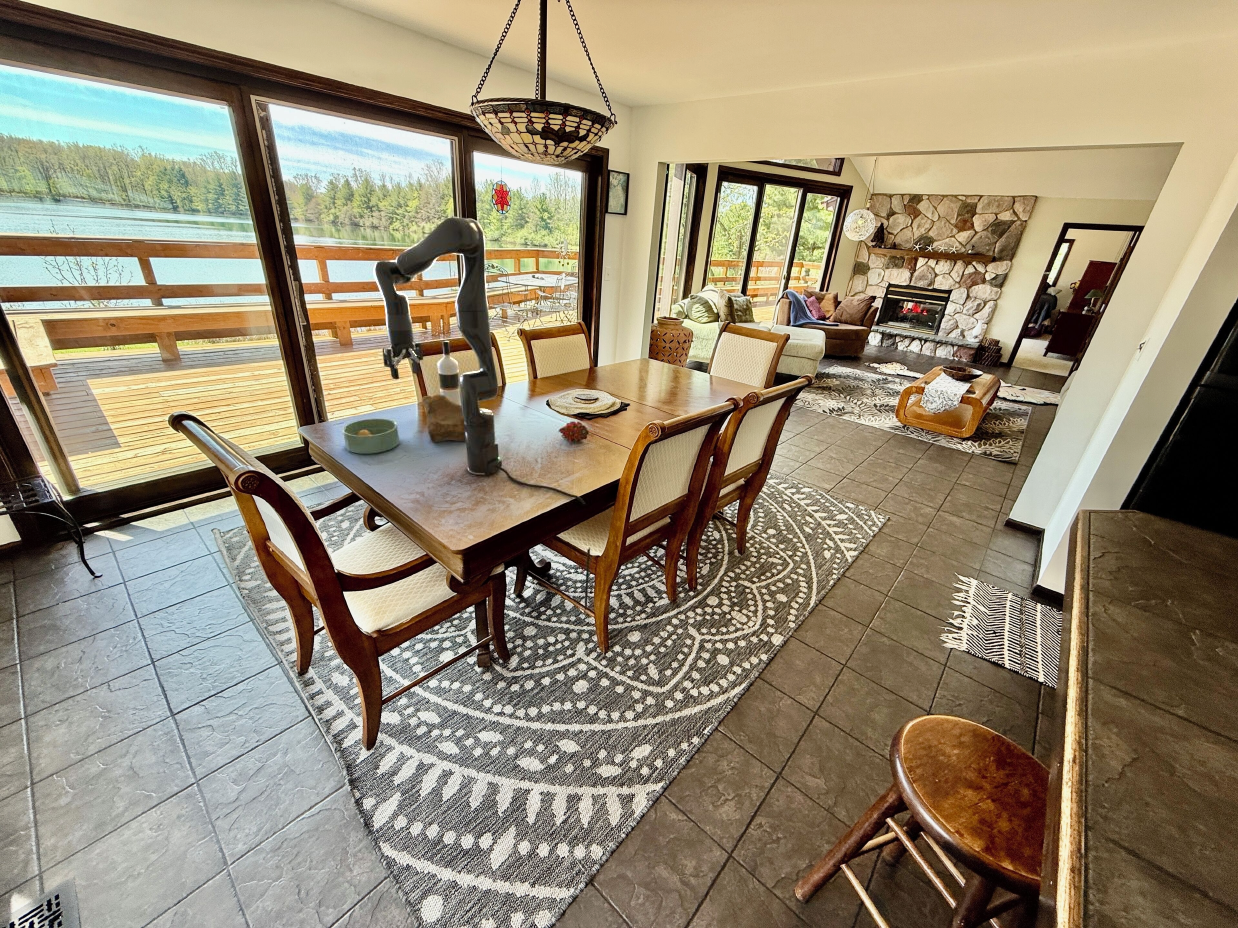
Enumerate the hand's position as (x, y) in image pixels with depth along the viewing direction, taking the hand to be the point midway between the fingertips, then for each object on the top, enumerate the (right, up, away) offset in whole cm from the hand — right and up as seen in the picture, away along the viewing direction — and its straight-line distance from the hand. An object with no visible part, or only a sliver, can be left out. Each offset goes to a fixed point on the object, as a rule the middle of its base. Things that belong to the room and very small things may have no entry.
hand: (406, 376), depth 162 cm
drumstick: (-16, -22, +9) cm, 29 cm away
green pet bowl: (-16, -23, +10) cm, 30 cm away
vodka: (-1, -7, +47) cm, 47 cm away
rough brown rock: (+7, -20, +20) cm, 29 cm away
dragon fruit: (+54, -21, +25) cm, 63 cm away
